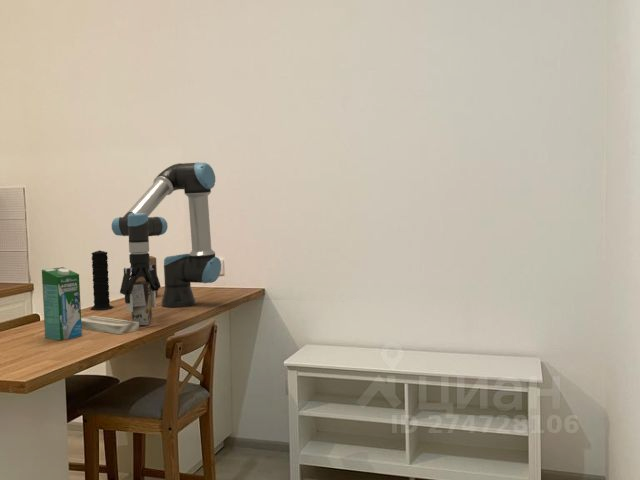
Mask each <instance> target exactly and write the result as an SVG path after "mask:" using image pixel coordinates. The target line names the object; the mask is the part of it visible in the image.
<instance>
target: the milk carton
mask: <svg viewBox="0 0 640 480" xmlns="http://www.w3.org/2000/svg"><path fill="white" fill-rule="evenodd" d="M41 281H42V282H41V283H42V300H43V301H42V302H43V318H44V320H43V321H44V338H45V339H49V340H56V341H64V340H65V341H66V340H70V339H73V338H74V339H75V338H78V337H81V336H82V337H83V330H82V325H81V318H82V309H81V308H82V306H81V304H82V303H81V288H80V285H81V284H80V274H79V273H77V272H75V271H72V270H70V269H68V268H66V267H63V266H61V267H54V268H46V269H41Z"/></svg>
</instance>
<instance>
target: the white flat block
mask: <svg viewBox="0 0 640 480" xmlns="http://www.w3.org/2000/svg"><path fill="white" fill-rule="evenodd" d="M81 325H82V329H83V330H84V329H85V330H90V331H95V332H102V333H107V334H114V335H124V334H128V333H133V332H137V331H140V328H139V322H134V321H132V320H127V319H126V320H125V319H119V318H112V317H104V316H97V315H90V316H84V317H81Z"/></svg>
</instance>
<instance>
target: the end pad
mask: <svg viewBox="0 0 640 480" xmlns="http://www.w3.org/2000/svg"><path fill="white" fill-rule="evenodd" d="M158 325H159V323H156V322H150V323H149V324H148V325H139V330H140V329H141V330H142V329H145V328H149V327H154V326H158Z"/></svg>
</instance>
